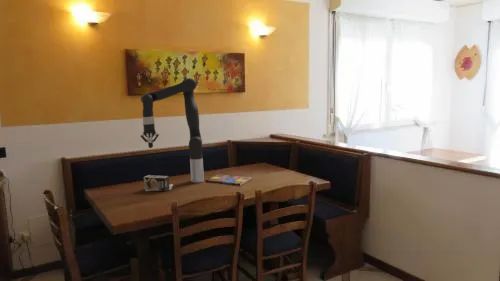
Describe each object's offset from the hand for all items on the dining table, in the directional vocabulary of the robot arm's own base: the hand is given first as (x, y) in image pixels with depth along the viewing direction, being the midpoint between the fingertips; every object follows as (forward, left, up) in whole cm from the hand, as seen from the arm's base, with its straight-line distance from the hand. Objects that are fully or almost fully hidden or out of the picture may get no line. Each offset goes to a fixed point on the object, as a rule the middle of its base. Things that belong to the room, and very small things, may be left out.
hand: (150, 147), depth 273 cm
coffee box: (+4, +6, -23) cm, 24 cm away
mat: (-5, +4, -28) cm, 29 cm away
